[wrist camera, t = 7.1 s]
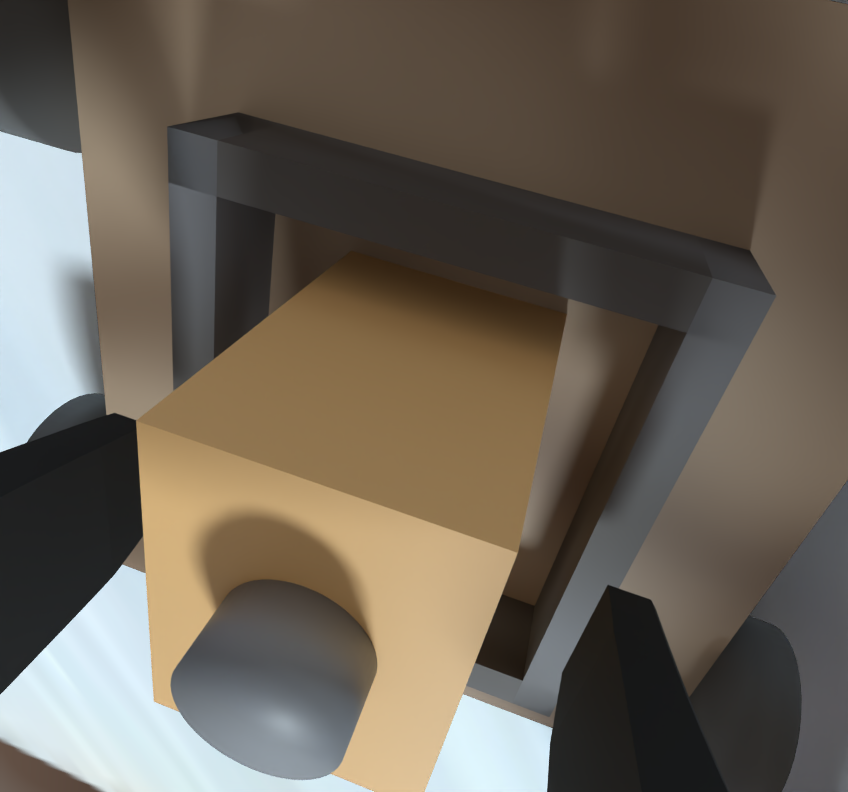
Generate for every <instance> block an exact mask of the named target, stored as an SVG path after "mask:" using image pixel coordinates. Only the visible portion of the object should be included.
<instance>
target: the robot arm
mask: <svg viewBox="0 0 848 792" xmlns="http://www.w3.org/2000/svg"><path fill="white" fill-rule="evenodd" d="M142 537H143V522H142V506H141V490H140V475H139V459H138V443H137V428H136V420H134V419H131V418H129V417H126V416H123V415H120V414H117V413H112V414H109V415H106V416H102V417H99V418H96V419H93V420H90V421H87V422H84V423H81V424H78V425H75V426H72V427H70V428H67V429H64V430H61V431H58V432H56V433H53V434H50V435H47V436H45V437H42V438H39V439H36V440H33V441H31V442H28V443H25V444H22V445H20V446H17V447H14V448H11V449H8V450H6V451H3V452H0V694H1V693H2V692H3V691H4V690H5V689H6V688H7V687H8V686H9V685H10V684H11V683H12V682H13V681H14V680H15V679H16V678H17V677H18V676H19V674H20V673H21V672H22V671H23V670H24V669H25V668H26V667H27V666H28V665H29V664H30V663H31V662H32V661H33V660H34V659H35V658H36V657H37V656H38V655H39V654H40V653H41V652H42V650H43V649H44V648H45V647H46V646H47V645H48V644H49V643H50V642H51V641H52V640H53V639H54V638H55V637H56V636H57V635H58V634H59V633H60V632H61V631H62V630H63V629H64V628H65V627H66V625H67V624H68V623H69V622H70V621H71V620H72V619H73V618H74V617H75V616H76V615H77V614H78V613H79V612H80V611H81V610H82V609H83V608H84V607H85V605H86V604H87V603H88V602H89V601H90V600H91V599H92V598H93V597H94V596H95V595H96V594H97V593H98V592H99V591H100V590H101V589H102V587H103V586H104V585H105V584H106V583H107V582H108V581H109V580H110V579H111V578H112V577H113V575H114V574H115V573H116V572H117V570H118V569H119V568H120V566H121V565H122V564H123V563H124V561H125V560H126V559H127V557H128V556H129V555H130V553H131V552H132V551H133V549H134V548H135V547H136V545H137V544H138V542H139V541H140V540H141V538H142ZM547 792H729V790H728V788H727V786H726V783H725V781H724V779H723V777H722V774H721V772H720V770H719V767H718V765H717V763H716V760H715V758H714V756H713V753H712V751H711V749H710V746H709V744H708V742H707V739H706V737H705V735H704V732H703V730H702V728H701V726H700V723H699V721H698V718H697V716H696V713H695V711H694V708H693V706H692V703H691V701H690V698H689V696H688V693H687V691H686V688H685V686H684V683H683V681H682V678H681V675H680V673H679V670H678V668H677V665H676V662H675V660H674V657H673V654H672V652H671V649H670V646H669V644H668V641H667V638H666V636H665V633H664V630H663V627H662V625H661V622H660V619H659V616H658V614H657V611H656V608H655V606H654V604H653V602H652V600H651V599H648V598H645V597H642V596H639V595H636V594H633V593H630V592H628V591H625V590H622V589H619V588H616V587H613V586H610V585H607V587H606V589H605V591H604V593H603V595H602V597H601V599H600V600H599V602H598V604H597V606H596V608H595V610H594V612H593V614H592V616H591V618H590V620H589V622H588V624H587V625H586V627H585V629H584V631H583V633H582V635H581V637H580V639H579V641H578V643H577V645H576V647H575V649H574V650H573V652H572V654H571V656H570V658H569V660H568V662H567V664H566V666H565V668H564V670H563V672H562V676H561V682H560V687H559V693H558V699H557V705H556V710H555V717H554V723H553V729H552V736H551V742H550V755H549V771H548V788H547Z"/></svg>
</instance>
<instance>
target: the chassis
mask: <svg viewBox="0 0 848 792" xmlns="http://www.w3.org/2000/svg"><path fill="white" fill-rule="evenodd" d="M0 131H1V132H5V133H8V134H12V135H15V136H19V137H22V138H25V139H29V140H32V141H36V142H39V143H43V144H46V145H50V146H53V147H57V148H60V149H63V150H67V151H71V152H75V153H82V159H83V170H84V181H85V191H86V202H87V213H88V223H89V234H90V245H91V255H92V266H93V277H94V287H95V298H96V309H97V319H98V330H99V341H100V351H101V362H102V373H103V383H104V394H105V395H102V394H95V393H94V394H86V395H82V396H79V397H77V398H74V399H72V400H70V401H68V402H67V403H65V404H63V405H62V406H61V407H59V408H58V409H56V410H55V411H54V412H53V413H52V414H51V415H49V416H48V417H47V418H46V419H45V420H44V421H43V422H42V424H41V425H40V426H39V427H38V428H37V429H36V431H35V432H34V433H33V434H32V436H31V437H30V439H29V440H28V442H31V441H33V440H36V439H39V438H42V437H45V436H47V435H50V434H53V433H56V432H58V431H61V430H64V429H67V428H70V427H72V426H75V425H78V424H81V423H84V422H87V421H90V420H93V419H96V418H99V417H102V416H106V415H109V414H112V413H117V414H120V415H123V416H126V417H129V418H131V419H134V420H138V419H139V418H140V417H141V416H143V415H144V414H145V413H146V412H148V411H149V410H150V409H151V408H153V407H154V406H155V405H157V404H158V403H159V402H160V401H162V400H163V399H164V398H165V397H167V396H168V395H169V394H170V393H172V392H173V391H174V390H176V389H177V388H178V387H179V386H181V385H182V384H183V383H184V382H186V381H187V380H188V379H190V378H191V377H192V376H193V375H195V374H196V373H197V372H198V371H200V370H201V369H202V368H203V367H205V366H206V365H207V364H209V363H210V362H211V361H212V360H214V359H215V358H216V357H217V356H219V355H220V354H221V353H222V352H224V351H225V350H226V349H228V348H229V347H230V346H231V345H233V344H234V343H235V342H236V341H238V340H239V339H240V338H241V337H243V336H244V335H245V334H247V333H248V332H249V331H250V330H252V329H253V328H254V327H255V326H257V325H258V324H259V323H261V322H262V321H263V320H264V319H266V318H267V317H268V316H269V315H271V314H272V313H273V312H274V311H276V310H277V309H278V308H280V307H281V306H282V305H283V304H285V303H286V302H287V301H288V300H290V299H291V298H292V297H293V296H295V295H296V294H297V293H299V292H300V291H301V290H302V289H304V288H305V287H306V286H307V285H309V284H310V283H311V282H312V281H314V280H315V279H316V278H318V277H319V276H320V275H321V274H323V273H324V272H325V271H326V270H328V269H329V268H330V267H331V266H333V265H334V264H335V263H337V262H338V261H339V260H340V259H342V258H343V257H344V256H345V255H347V254H348V253H349V252H351V251H354V252H357V253H360V254H364V255H367V256H371V257H374V258H378V259H381V260H384V261H388V262H391V263H395V264H398V265H401V266H405V267H408V268H412V269H415V270H418V271H422V272H425V273H429V274H432V275H436V276H439V277H442V278H446V279H449V280H453V281H456V282H459V283H463V284H466V285H470V286H473V287H476V288H480V289H483V290H487V291H490V292H494V293H497V294H500V295H504V296H507V297H511V298H514V299H517V300H521V301H524V302H528V303H531V304H534V305H538V306H541V307H545V308H548V309H552V310H555V311H558V312H562V313H565V314H567V317H566V322H565V327H564V331H563V336H562V341H561V346H560V351H559V356H558V361H557V365H556V370H555V375H554V380H553V385H552V390H551V395H550V399H549V404H548V409H547V414H546V419H545V424H544V429H543V433H542V438H541V443H540V448H539V453H538V458H537V463H536V467H535V472H534V477H533V482H532V487H531V492H530V497H529V501H528V506H527V511H526V516H525V521H524V526H523V531H522V535H521V540H520V545H519V550H518V554H517V556H516V559H515V562H514V564H513V567H512V569H511V572H510V574H509V577H508V579H507V582H506V585H505V587H504V590H503V592H502V595H501V597H500V600H499V602H498V605H497V608H496V610H495V613H494V615H493V618H492V620H491V623H490V625H489V628H488V631H487V633H486V636H485V638H484V641H483V643H482V646H481V648H480V651H479V654H478V656H477V659H476V661H475V664H474V666H473V669H472V671H471V674H470V677H469V679H468V682H467V684H466V687H465V689H464V692H463V694H464V695H467V696H470V697H472V698H475V699H478V700H480V701H483V702H485V703H488V704H491V705H493V706H496V707H499V708H501V709H504V710H506V711H509V712H512V713H514V714H517V715H520V716H522V717H525V718H527V719H530V720H533V721H535V722H538V723H541V724H543V725H546V726H548V727H551V728H553V723H554V717H555V710H556V705H557V699H558V693H559V687H560V682H561V676H562V672H563V670H564V668H565V666H566V664H567V662H568V660H569V658H570V656H571V654H572V652H573V650H574V649H575V647H576V645H577V643H578V641H579V639H580V637H581V635H582V633H583V631H584V629H585V627H586V625H587V624H588V622H589V620H590V618H591V616H592V614H593V612H594V610H595V608H596V606H597V604H598V602H599V600H600V599H601V597H602V595H603V593H604V591H605V589H606V587H607V585H610V586H613V587H616V588H619V589H622V590H625V591H628V592H630V593H633V594H636V595H639V596H642V597H645V598H648V599H651V600H652V602H653V604H654V606H655V608H656V611H657V614H658V616H659V619H660V622H661V625H662V627H663V630H664V633H665V636H666V638H667V641H668V644H669V646H670V649H671V652H672V654H673V657H674V660H675V662H676V665H677V668H678V670H679V673H680V675H681V678H682V681H683V683H684V686H685V688H686V691H687V693H688V696H689V698H690V701H691V703H692V706H693V708H694V711H695V713H696V716H697V718H698V721H699V723H700V726H701V728H702V730H703V732H704V735H705V737H706V739H707V742H708V744H709V746H710V749H711V751H712V753H713V756H714V758H715V760H716V763H717V765H718V767H719V770H720V772H721V774H722V777H723V779H724V781H725V783H726V786H727V788H728V790H729V792H781V791H782V789H783V788H784V786H785V783H786V781H787V778H788V776H789V773H790V770H791V767H792V764H793V761H794V757H795V753H796V748H797V744H798V737H799V731H800V721H801V684H800V677H799V671H798V666H797V662H796V658H795V655H794V652H793V649H792V647H791V645H790V643H789V641H788V639H787V638H786V636H785V635H784V633H783V632H782V631H781V630H780V629H779V628H777V627H776V626H774V625H772V624H770V623H767V622H764V621H761V620H758V619H755V618H752V617H749V615H750V613H751V612H752V610H753V609H754V608H755V606H756V605H757V604H758V602H759V601H760V599H761V598H762V597H763V595H764V594H765V593H766V591H767V590H768V588H769V587H770V586H771V584H772V583H773V582H774V580H775V579H776V577H777V576H778V575H779V573H780V572H781V571H782V569H783V568H784V567H785V565H786V564H787V562H788V561H789V560H790V558H791V557H792V556H793V554H794V553H795V551H796V550H797V549H798V547H799V546H800V545H801V543H802V542H803V540H804V539H805V538H806V536H807V535H808V534H809V532H810V531H811V530H812V528H813V527H814V525H815V524H816V523H817V521H818V520H819V519H820V517H821V516H822V514H823V513H824V512H825V510H826V509H827V508H828V506H829V505H830V503H831V502H832V501H833V499H834V498H835V497H836V495H837V494H838V492H839V491H840V490H841V488H842V487H843V486H844V484H845V483H846V482H847V480H848V4H844V3H839V2H835V1H830V0H0ZM28 442H27V443H28ZM123 565H125V566H128V567H131V568H133V569H136V570H139V571H141V572H144V573H146V569H145V553H144V537H142V538H141V540H140V541H139V542H138V544H137V545H136V547H135V548H134V549H133V551H132V552H131V553H130V555H129V556H128V557H127V559H126V560H125V561H124V563H123Z"/></svg>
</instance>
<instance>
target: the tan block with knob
mask: <svg viewBox="0 0 848 792" xmlns="http://www.w3.org/2000/svg"><path fill="white" fill-rule="evenodd" d="M566 317H567V314H565V313H562V312H558V311H555V310H552V309H548V308H545V307H541V306H538V305H534V304H531V303H528V302H524V301H521V300H517V299H514V298H511V297H507V296H504V295H500V294H497V293H494V292H490V291H487V290H483V289H480V288H476V287H473V286H470V285H466V284H463V283H459V282H456V281H453V280H449V279H446V278H442V277H439V276H436V275H432V274H429V273H425V272H422V271H418V270H415V269H412V268H408V267H405V266H401V265H398V264H395V263H391V262H388V261H384V260H381V259H378V258H374V257H371V256H367V255H364V254H360V253H357V252H354V251H351V252H349V253H348V254H347V255H345V256H344V257H343V258H342V259H340V260H339V261H338V262H337V263H335V264H334V265H333V266H331V267H330V268H329V269H328V270H326V271H325V272H324V273H323V274H321V275H320V276H319V277H318V278H316V279H315V280H314V281H312V282H311V283H310V284H309V285H307V286H306V287H305V288H304V289H302V290H301V291H300V292H299V293H297V294H296V295H295V296H293V297H292V298H291V299H290V300H288V301H287V302H286V303H285V304H283V305H282V306H281V307H280V308H278V309H277V310H276V311H274V312H273V313H272V314H271V315H269V316H268V317H267V318H266V319H264V320H263V321H262V322H261V323H259V324H258V325H257V326H255V327H254V328H253V329H252V330H250V331H249V332H248V333H247V334H245V335H244V336H243V337H241V338H240V339H239V340H238V341H236V342H235V343H234V344H233V345H231V346H230V347H229V348H228V349H226V350H225V351H224V352H222V353H221V354H220V355H219V356H217V357H216V358H215V359H214V360H212V361H211V362H210V363H209V364H207V365H206V366H205V367H203V368H202V369H201V370H200V371H198V372H197V373H196V374H195V375H193V376H192V377H191V378H190V379H188V380H187V381H186V382H184V383H183V384H182V385H181V386H179V387H178V388H177V389H176V390H174V391H173V392H172V393H170V394H169V395H168V396H167V397H165V398H164V399H163V400H162V401H160V402H159V403H158V404H157V405H155V406H154V407H153V408H151V409H150V410H149V411H148V412H146V413H145V414H144V415H143V416H141V417H140V418H139V419H138V420H136V428H137V443H138V459H139V475H140V490H141V506H142V522H143V537H144V553H145V569H146V585H147V600H148V616H149V632H150V647H151V663H152V679H153V694H154V702H157V703H159V704H161V705H164V706H166V707H169V708H171V709H174V710H176V711H179V712H180V713H181V715H182V716H183V718H184V719H185V720H186V722H187V723H188V724H189V725H190V726H191V728H192V729H193V730H194V731H195V732H196V733H197V734H198V735H199V736H200V737H201V738H203V739H204V740H205V741H206V742H207V743H209V744H210V745H211V746H212V747H214V748H215V749H217V750H218V751H219V752H221V753H223V754H224V755H226V756H227V757H229V758H231V759H233V760H234V761H236V762H238V763H240V764H242V765H244V766H247V767H249V768H251V769H254V770H256V771H259V772H262V773H265V774H268V775H271V776H276V777H280V778H286V779H293V780H310V779H316V778H321V777H324V776H327V775H328V774H333V775H335V776H338V777H340V778H343V779H345V780H347V781H350V782H352V783H355V784H357V785H360V786H362V787H365V788H367V789H369V790H372V791H374V792H425V789H426V786H427V784H428V781H429V779H430V776H431V774H432V771H433V769H434V766H435V763H436V761H437V758H438V756H439V753H440V751H441V748H442V746H443V743H444V740H445V738H446V735H447V733H448V730H449V728H450V725H451V723H452V720H453V717H454V715H455V712H456V710H457V707H458V705H459V702H460V700H461V697H462V694H463V692H464V689H465V687H466V684H467V682H468V679H469V677H470V674H471V671H472V669H473V666H474V664H475V661H476V659H477V656H478V654H479V651H480V648H481V646H482V643H483V641H484V638H485V636H486V633H487V631H488V628H489V625H490V623H491V620H492V618H493V615H494V613H495V610H496V608H497V605H498V602H499V600H500V597H501V595H502V592H503V590H504V587H505V585H506V582H507V579H508V577H509V574H510V572H511V569H512V567H513V564H514V562H515V559H516V556H517V554H518V550H519V545H520V540H521V535H522V531H523V526H524V521H525V516H526V511H527V506H528V501H529V497H530V492H531V487H532V482H533V477H534V472H535V467H536V463H537V458H538V453H539V448H540V443H541V438H542V433H543V429H544V424H545V419H546V414H547V409H548V404H549V399H550V395H551V390H552V385H553V380H554V375H555V370H556V365H557V361H558V356H559V351H560V346H561V341H562V336H563V331H564V327H565V322H566Z"/></svg>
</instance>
